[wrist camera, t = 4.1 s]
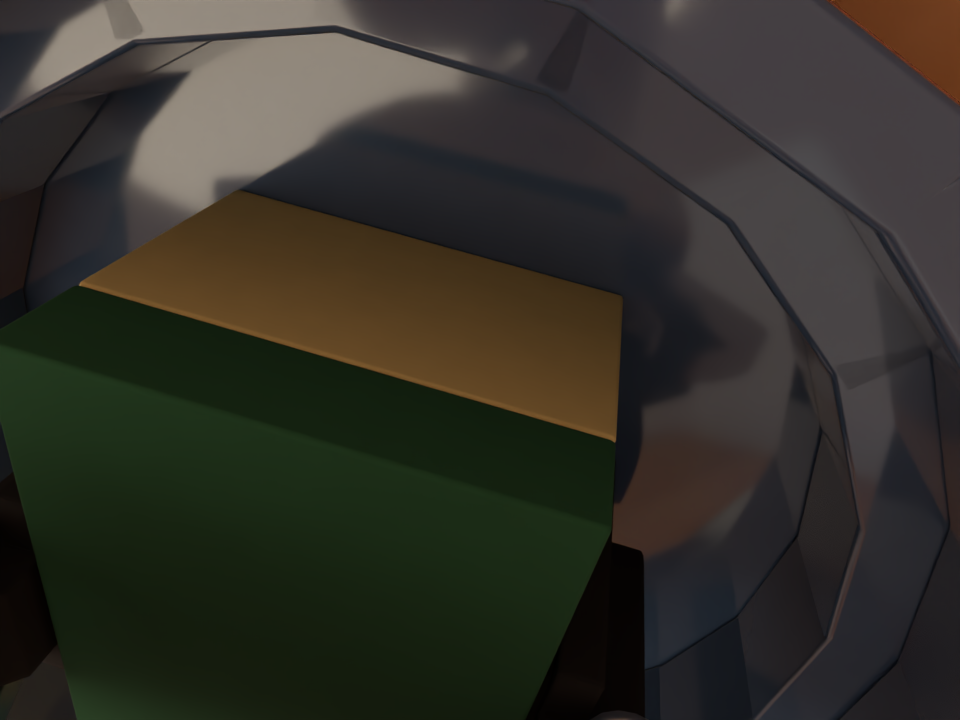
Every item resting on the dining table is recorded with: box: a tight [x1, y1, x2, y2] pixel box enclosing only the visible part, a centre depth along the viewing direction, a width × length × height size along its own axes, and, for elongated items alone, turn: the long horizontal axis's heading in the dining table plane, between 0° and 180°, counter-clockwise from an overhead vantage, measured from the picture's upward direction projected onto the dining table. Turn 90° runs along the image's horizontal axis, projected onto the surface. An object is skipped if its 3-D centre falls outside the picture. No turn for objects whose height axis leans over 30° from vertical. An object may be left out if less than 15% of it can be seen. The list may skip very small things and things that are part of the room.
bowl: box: [0, 0, 960, 720], centre depth 10 cm, size 17×17×4 cm
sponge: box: [0, 190, 623, 720], centre depth 10 cm, size 8×6×4 cm
